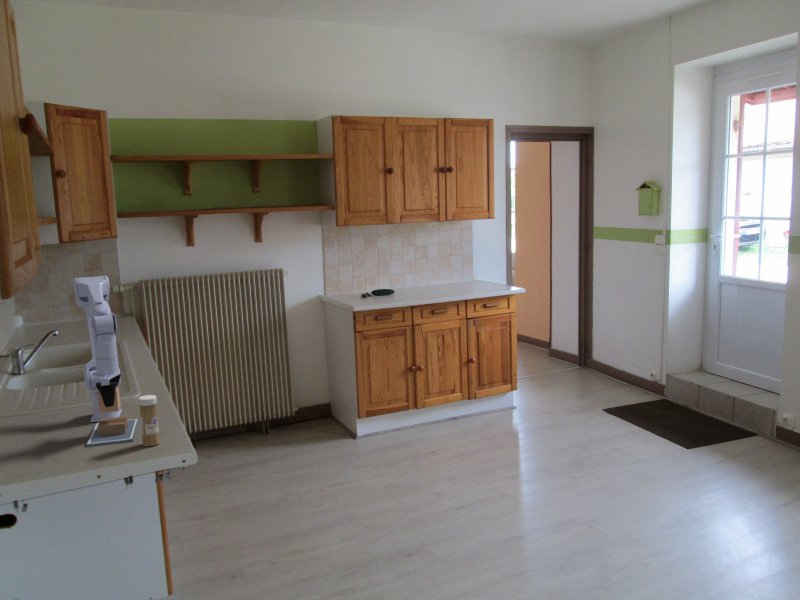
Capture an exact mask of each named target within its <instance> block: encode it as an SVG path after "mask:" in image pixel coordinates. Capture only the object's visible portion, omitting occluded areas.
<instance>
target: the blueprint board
mask: <svg viewBox="0 0 800 600" xmlns="http://www.w3.org/2000/svg"><path fill="white" fill-rule="evenodd" d="M127 420H128V427H127V430H126V433H125V434H118V435H109V436H101V437H99V435H98V425H99V423H100V422H97V423H96V422H95V425H94V426H93V428H92V431H91V432H90V434H89V437H88V439H87V441H86V442H85V448H87V447H94V446H95V447H96V446H104V445H112V444H122V443H129V442H134V440H135V437H136V432H137V428H138V425H139V422H140V419H139V418H133V419H131V418H130V419H127Z"/></svg>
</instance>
